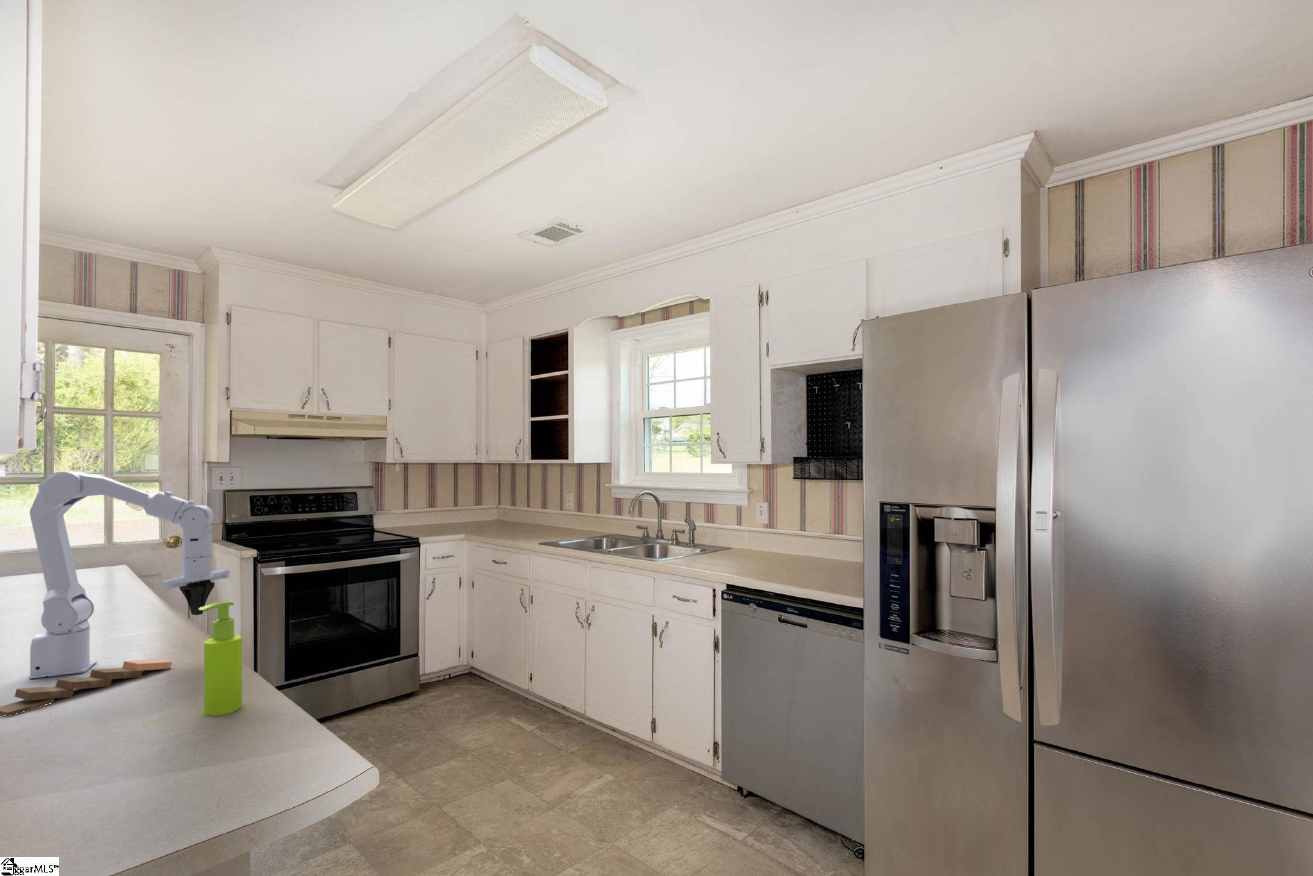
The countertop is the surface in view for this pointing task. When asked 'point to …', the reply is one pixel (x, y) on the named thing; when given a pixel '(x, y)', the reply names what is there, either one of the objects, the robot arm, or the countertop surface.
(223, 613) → the soap dispenser
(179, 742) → the countertop surface
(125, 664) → the lead tile
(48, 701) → the end tile
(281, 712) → the countertop surface
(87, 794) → the countertop surface
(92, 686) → the tile
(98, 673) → the tile
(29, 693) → the tile
